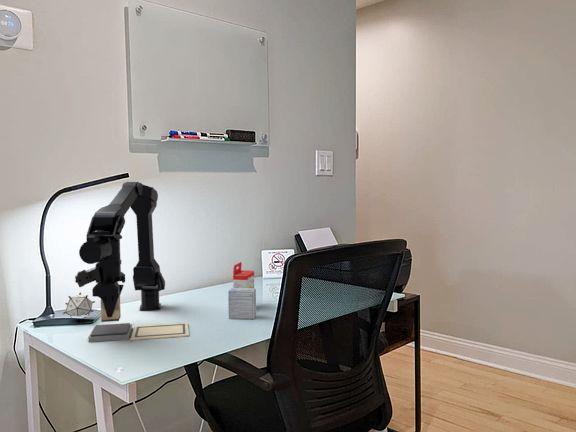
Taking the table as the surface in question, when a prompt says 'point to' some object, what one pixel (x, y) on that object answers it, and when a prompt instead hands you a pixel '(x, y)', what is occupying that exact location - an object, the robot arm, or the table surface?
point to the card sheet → (160, 331)
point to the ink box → (242, 277)
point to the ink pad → (110, 332)
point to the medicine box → (242, 303)
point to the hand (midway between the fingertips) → (110, 314)
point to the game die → (79, 305)
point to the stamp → (116, 312)
